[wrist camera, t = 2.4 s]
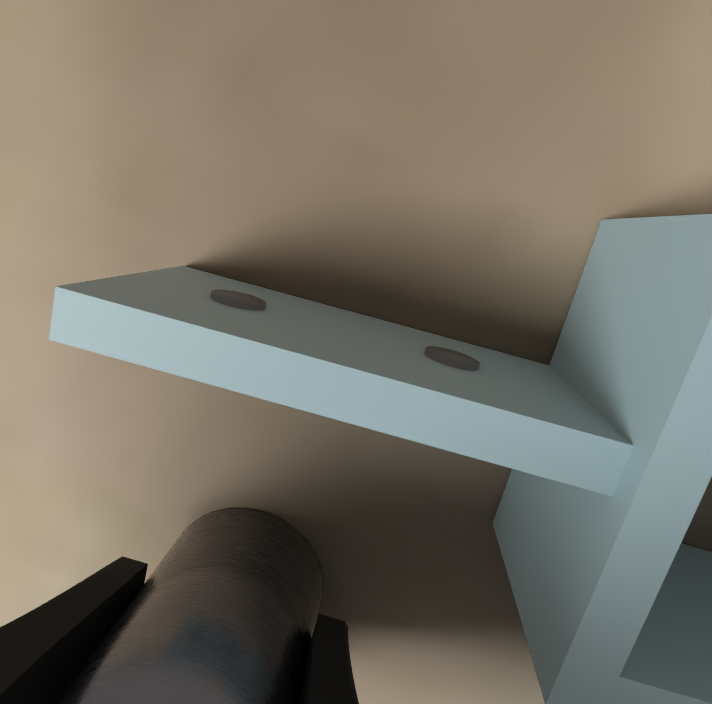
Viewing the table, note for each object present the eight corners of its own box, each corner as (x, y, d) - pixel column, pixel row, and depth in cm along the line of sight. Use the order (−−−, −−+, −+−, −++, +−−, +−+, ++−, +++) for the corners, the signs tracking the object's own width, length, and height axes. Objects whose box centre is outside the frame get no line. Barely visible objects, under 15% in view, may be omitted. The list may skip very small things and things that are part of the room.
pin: (302, 663, 14) (207, 1068, 7) (158, 621, 14) (-69, 979, 7) (340, 533, 13) (268, 859, 6) (184, 489, 13) (-49, 760, 6)
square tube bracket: (669, 837, 14) (806, 1153, 9) (111, 671, 15) (-35, 889, 10) (952, 311, 11) (1402, 379, 6) (209, 116, 11) (59, 31, 6)
